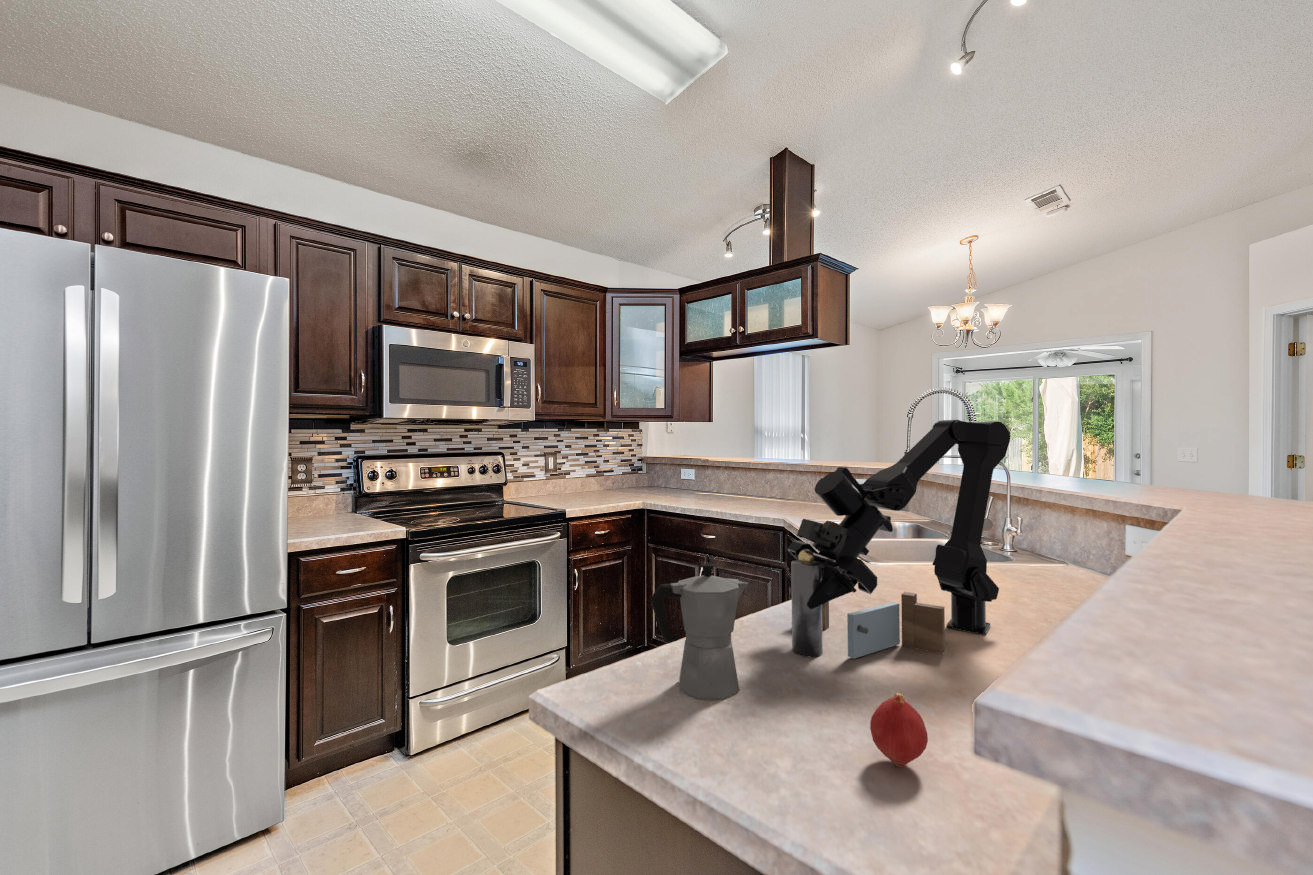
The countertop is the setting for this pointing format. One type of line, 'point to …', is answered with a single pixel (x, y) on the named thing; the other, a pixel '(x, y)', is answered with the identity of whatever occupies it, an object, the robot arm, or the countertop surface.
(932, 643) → the fence
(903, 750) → the onion
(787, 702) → the countertop surface
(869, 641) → the gate
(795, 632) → the grey tall cylinder
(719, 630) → the coffeepot
